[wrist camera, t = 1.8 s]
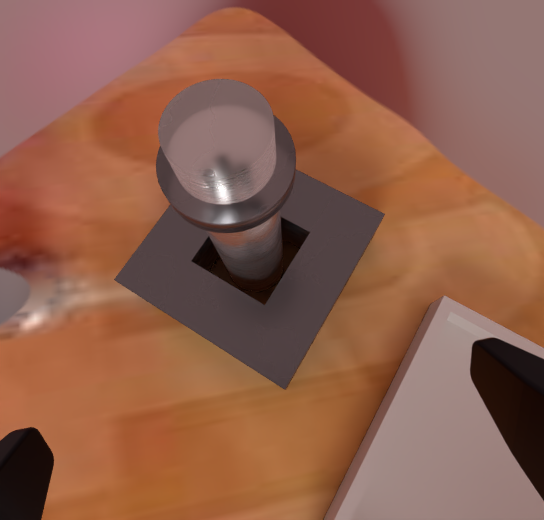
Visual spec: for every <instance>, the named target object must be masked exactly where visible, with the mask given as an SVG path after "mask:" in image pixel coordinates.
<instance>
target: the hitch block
mask: <svg viewBox="0 0 544 520" xmlns="http://www.w3.org/2000/svg"><path fill="white" fill-rule="evenodd" d="M384 215H385V214H384V213H382V212H380V211H378V210H376V209H374V208H372V207H370V206H368V205H366V204H364V203H362V202H360V201H358V200H356V199H354V198H352V197H350V196H348V195H346V194H344V193H342V192H340V191H338V190H336V189H334V188H332V187H330V186H328V185H326V184H324V183H322V182H320V181H318V180H316V179H314V178H312V177H310V176H308V175H306V174H304V173H302V172H300V171H298V170H296V171H295V181H294V185H293V189H292V191H291V194H290V196H289V198H288V199H287V201H286V203H285V204H284V205H283V207H282V208H281V209H280V218H281V233H282V238H283V239H285V240H287V241H289V242H290V243H292V244H294V245H296V246H298V247H300V249H299V251H298V253H297V254H296V256H295V258H294V259H293V261H292V262H291V264H290V266H289V267H288V269H287V270H286V272H285V274H284V275H283V277H282V278H281V280H280V282H279V283H278V285H277V286H276V288H275V290H274V291H273V293H272V294H271V296H270V298H269V299H268V301H267V302H266V304H265V305H264V304H262V303H260V302H259V301H257V300H255V299H254V298H252V297H250V296H249V295H247V294H245V293H244V292H242V291H240V290H239V289H237V288H235V287H233V286H232V285H230V284H228V283H227V282H225V281H223V280H222V279H220V278H218V277H217V276H215V275H213V274H212V273H210V272H208V271H209V269H210V268H211V266H212V265H213V263H214V262H215V260H216V259H217V258H218V256H219V253H218V252H217V250H216V248H215V246H214V244H213V242H212V241H211V239H210V237H209V235H208V233H207V231H206V230H203V229H200V228H198V227H195V226H193V225H191V224H190V223H188V222H187V221H185V220H184V219H183V218H182V217H181V216H180V215H179V214H178V213H177V212H176V211H175V210H174V208H173V207H172V205H170V206H169V207H168V209H167V210H166V211H165V213H164V214H163V215H162V217H161V218H160V219H159V221H158V222H157V223H156V225H155V226H154V227H153V229H152V230H151V231H150V233H149V234H148V235H147V237H146V238H145V239H144V241H143V242H142V243H141V245H140V246H139V247H138V249H137V250H136V251H135V253H134V254H133V255H132V257H131V258H130V259H129V261H128V262H127V263H126V264H125V266H124V267H123V268H122V270H121V271H120V272H119V274H118V275H117V276H116V278H115V279H114V280H115V281H117V282H118V283H120V284H121V285H123V286H124V287H126V288H128V289H129V290H131V291H132V292H134V293H135V294H137V295H138V296H140V297H142V298H143V299H145V300H146V301H148V302H149V303H151V304H152V305H154V306H156V307H157V308H159V309H160V310H162V311H163V312H165V313H167V314H168V315H170V316H171V317H173V318H174V319H176V320H177V321H179V322H181V323H182V324H184V325H185V326H187V327H188V328H190V329H191V330H193V331H195V332H196V333H198V334H199V335H201V336H202V337H204V338H205V339H207V340H209V341H210V342H212V343H213V344H215V345H216V346H218V347H219V348H221V349H223V350H224V351H226V352H227V353H229V354H230V355H232V356H233V357H235V358H237V359H238V360H240V361H241V362H243V363H244V364H246V365H247V366H249V367H251V368H252V369H254V370H255V371H257V372H258V373H260V374H261V375H263V376H265V377H266V378H268V379H269V380H271V381H272V382H274V383H275V384H277V385H279V386H280V387H282V388H283V389H286V388H287V387H288V385H289V383H290V381H291V380H292V378H293V376H294V374H295V373H296V371H297V369H298V367H299V366H300V364H301V362H302V360H303V358H304V357H305V355H306V353H307V351H308V350H309V348H310V346H311V344H312V343H313V341H314V339H315V337H316V336H317V334H318V332H319V330H320V329H321V327H322V325H323V323H324V322H325V320H326V318H327V316H328V315H329V313H330V311H331V309H332V308H333V306H334V304H335V302H336V301H337V299H338V297H339V295H340V294H341V292H342V290H343V288H344V287H345V285H346V283H347V281H348V280H349V278H350V276H351V274H352V273H353V271H354V269H355V267H356V266H357V264H358V262H359V260H360V259H361V257H362V255H363V253H364V252H365V250H366V248H367V246H368V245H369V243H370V241H371V239H372V238H373V236H374V234H375V232H376V230H377V228H378V226H379V224H380V223H381V221H382V219H383V217H384Z"/></svg>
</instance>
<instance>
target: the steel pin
mask: <svg viewBox="0 0 544 520" xmlns="http://www.w3.org/2000/svg"><path fill="white" fill-rule="evenodd" d="M158 135H159V142H160V148H159V151H158V155H157V161H156V172H157V178H158V182H159V185H160V187H161V189H162V191H163V193H164V195H165V196H166V198H167V199H168V201H169V202H170V204H171V205H172V207H173V208H174V210H175V211H176V212H177V213H178V214H179V215H180V216H181V217H182V218H183V219H184V220H185V221H187V222H188V223H190V224H191V225H193V226H195V227H198V228H200V229H203V230H206V231H207V233H208V235H209V237H210V239H211V241H212V242H213V244H214V246H215V248H216V250H217V252H218V253H219V255H220V257H221V259H222V261H223V263H224V264H225V266H226V268H227V270H228V272H229V274H230V276H231V277H232V279H233V281H234V282H235V283H236V284H237V285H238V286H239V287H241V288H243V289H245V290H248V291H254V292H256V291H263V290H266V289H268V288H270V287H272V286H273V285H274V284H275V283H276V282H277V281H278V280H279V279H280V277H281V275H282V272H283V267H284V263H283V247H282V233H281V218H280V209H281V208H282V207H283V205H284V204H285V203H286V201H287V199H288V198H289V196H290V194H291V191H292V189H293V185H294V181H295V171H296V155H295V147H294V143H293V140H292V138H291V135H290V133H289V132H288V130H287V128H286V127H285V126H284V124H283V123H282V122H281V121H280V120H279V119H278V118H277V117H276V116H274V115H273V112H272V110H271V107H270V105H269V103H268V102H267V100H266V99H265V98H264V96H263V95H262V94H261V93H260V92H258V91H257V90H256V89H254V88H253V87H251V86H249V85H247V84H245V83H242V82H239V81H235V80H229V79H213V80H207V81H203V82H199V83H197V84H194V85H192V86H190V87H188V88H186V89H184V90H183V91H181V92H180V93H179V94H177V95H176V96H175V97H174V98H173V99H172V100H171V101H170V102H169V104H168V105H167V106H166V108H165V110H164V112H163V113H162V116H161V119H160V122H159V128H158Z"/></svg>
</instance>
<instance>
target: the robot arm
mask: <svg viewBox="0 0 544 520" xmlns="http://www.w3.org/2000/svg"><path fill="white" fill-rule="evenodd" d="M470 376H471V379H472V382H473V384H474V386H475V387H476V389H477V391H478V393H479V395H480V397H481V399H482V400H483V402H484V404H485V406H486V408H487V410H488V411H489V413H490V415H491V417H492V419H493V421H494V422H495V424H496V426H497V428H498V430H499V432H500V433H501V435H502V437H503V439H504V441H505V443H506V444H507V446H508V448H509V450H510V451H511V453H512V455H513V456H514V458H515V459H516V461H517V462H518V464H519V465H520V467H521V468H522V470H523V471H524V473H525V474H526V476H527V477H528V479H529V480H530V482H531V483H532V485H533V486H534V488H535V489H536V490H537V492H538V493H539V495H540V496H541V498H542V499H543V501H544V359H543V358H541V357H538V356H536V355H534V354H532V353H529V352H527V351H525V350H523V349H520V348H518V347H516V346H514V345H512V344H509V343H507V342H505V341H503V340H500V339H498V338H494V337H491V338H485V339H480V340H476V341H474V343H473V344H472V351H471V363H470ZM53 465H54V457H53V453H52V451H51V449H50V448H49V446H48V445H47V443H46V442H45V440H44V438H43V437H42V435H41V434H40V432H39V431H38V430H37V429H36V428H32V427H30V428H25V429H20V430H15V431H12V432H11V433H9V434H8V435H7V436H6V437H4V438H3V439H2V440H1V441H0V520H41V518H42V514H43V509H44V505H45V501H46V496H47V492H48V487H49V483H50V479H51V474H52V470H53Z"/></svg>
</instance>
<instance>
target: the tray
mask: <svg viewBox="0 0 544 520" xmlns="http://www.w3.org/2000/svg"><path fill="white" fill-rule="evenodd" d="M491 337H494V338H498V339H500V340H503V341H505V342H507V343H509V344H512V345H514V346H516V347H518V348H520V349H523V350H525V351H527V352H529V353H532V354H534V355H536V356H538V357H541V358H543V359H544V348H543V347H541V346H539V345H537V344H535V343H533V342H531V341H530V340H528V339H526V338H524V337H522V336H520V335H518V334H516V333H514V332H513V331H511V330H509V329H507V328H505V327H503V326H501V325H499V324H497V323H496V322H494V321H492V320H490V319H488V318H486V317H484V316H482V315H481V314H479V313H477V312H475V311H473V310H471V309H469V308H467V307H465V306H464V305H462V304H460V303H458V302H456V301H454V300H452V299H450V298H448V297H447V296H445V295H444V296H442V297H441V298H439V299H438V300H436V301H434V302H433V303H431V304H430V306H429V308H428V310H427V312H426V314H425V316H424V318H423V320H422V322H421V324H420V326H419V328H418V330H417V332H416V334H415V336H414V338H413V340H412V342H411V344H410V346H409V348H408V350H407V352H406V354H405V356H404V358H403V360H402V362H401V365H400V367H399V369H398V371H397V373H396V375H395V377H394V379H393V381H392V383H391V385H390V387H389V389H388V391H387V393H386V395H385V397H384V399H383V401H382V403H381V405H380V407H379V409H378V411H377V413H376V415H375V417H374V419H373V421H372V423H371V425H370V427H369V429H368V431H367V433H366V435H365V437H364V439H363V441H362V443H361V445H360V447H359V449H358V451H357V453H356V455H355V457H354V459H353V461H352V463H351V465H350V467H349V469H348V471H347V473H346V475H345V477H344V479H343V481H342V483H341V485H340V487H339V489H338V491H337V493H336V495H335V497H334V499H333V501H332V503H331V505H330V507H329V509H328V511H327V513H326V515H325V517H324V519H323V520H544V501H543V499H542V498H541V496H540V495H539V493H538V492H537V490H536V489H535V488H534V486H533V485H532V483H531V482H530V480H529V479H528V477H527V476H526V474H525V473H524V471H523V470H522V468H521V467H520V465H519V464H518V462H517V461H516V459H515V458H514V456H513V455H512V453H511V451H510V450H509V448H508V446H507V444H506V443H505V441H504V439H503V437H502V435H501V433H500V432H499V430H498V428H497V426H496V424H495V422H494V421H493V419H492V417H491V415H490V413H489V411H488V410H487V408H486V406H485V404H484V402H483V400H482V399H481V397H480V395H479V393H478V391H477V389H476V387H475V386H474V384H473V382H472V379H471V376H470V363H471V351H472V344H473V343H474V341H476V340H480V339H485V338H491Z"/></svg>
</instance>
